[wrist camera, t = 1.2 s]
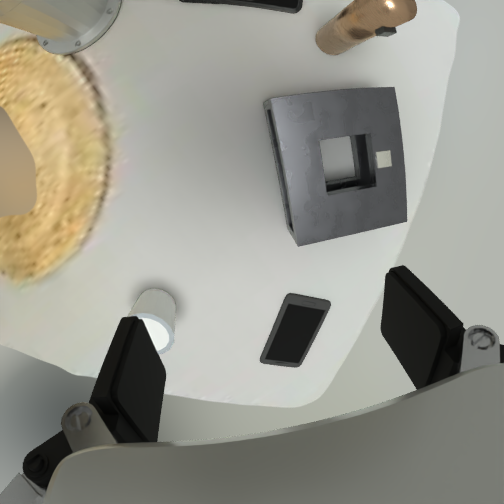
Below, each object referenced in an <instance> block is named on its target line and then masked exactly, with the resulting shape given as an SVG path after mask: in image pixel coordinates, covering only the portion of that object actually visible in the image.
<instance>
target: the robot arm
mask: <svg viewBox="0 0 504 504" xmlns="http://www.w3.org/2000/svg"><path fill="white" fill-rule="evenodd" d="M120 4H121V0H0V23H2V24H6V25H9V26H12V27H15V28H18V29H21V30H24V31H27V32H30V33H33V34H36V36H37V40H38V42H39V44H40V45H41V47H42V48H43V49H44V50H46V51H48V52H50V53H53V54H58V55H68V54H72V53H76V52H78V51H80V50H83V49H85V48H86V47H88V46H90V45H91V44H93V43H94V42H95V41H96V40H98V39H99V38H100V37H101V36H102V35H103V34H104V33H105V32H106V31H107V30H108V28H109V27H110V26H111V24H112V23H113V21H114V19H115V18H116V16H117V14H118V11H119V9H120ZM111 12H112V13H111ZM381 333H382V335H383V337H384V338H385V340H386V341H387V343H388V344H389V346H390V347H391V349H392V351H393V352H394V354H395V355H396V357H397V358H398V360H399V361H400V363H401V365H402V366H403V368H404V369H405V371H406V373H407V374H408V376H409V377H410V379H411V381H412V382H413V384H414V386H415V387H416V389H417V390H416V391H413V392H410V393H408V394H405V395H402V396H399V397H397V398H394V399H391V400H388V401H386V402H382V403H380V404H377V405H373V406H370V407H367V408H364V409H360V410H357V411H353V412H350V413H346V414H343V415H339V416H335V417H332V418H328V419H324V420H320V421H316V422H311V423H307V424H302V425H298V426H293V427H288V428H283V429H277V430H272V431H267V432H260V433H254V434H247V435H240V436H232V437H223V438H214V439H203V440H189V441H175V442H174V441H173V442H157V438H158V431H159V423H160V415H161V408H162V401H163V394H164V387H165V381H166V370H165V368H164V365H163V363H162V361H161V359H160V357H159V355H158V353H157V350H156V348H155V346H154V344H153V342H152V339H151V337H150V335H149V333H148V330H147V328H146V326H145V323H144V321H143V320H142V319H139V318H138V317H137V316H130V317H123V318H122V319H121V320H120V323H119V325H118V328H117V330H116V332H115V335H114V337H113V340H112V342H111V345H110V347H109V350H108V352H107V355H106V357H105V359H104V362H103V365H102V367H101V370H100V373H99V375H98V378H97V381H96V384H95V386H94V389H93V392H92V395H91V398H90V401H89V403H84V402H82V403H77V404H75V405H72V406H71V407H70V408H68V409H67V410H66V412H65V413H64V415H63V417H62V421H61V425H62V429H63V430H62V431H61V432H59V433H58V434H56V435H55V436H53V437H52V438H50V439H49V440H47V441H46V442H44V443H43V444H41V445H40V446H38V447H36V448H35V449H33V450H32V451H31V452H29V453H28V454H27V456H26V457H25V459H24V462H23V472H24V473H23V474H22V475H21V474H20V473H18V474H17V475H16V477H15V478H14V479H13V480H12V481H11V482H10V483H9V485H8V486H7V487H6V488H5V489H4V490H3V491H2V493H1V494H0V504H504V345H501V344H500V343H499V337H498V335H497V334H496V333H495V332H494V331H493V330H492V329H490V328H489V327H486V326H483V325H475V326H471V327H469V328H468V329H467V330H465V328H464V327H463V323H462V322H461V321H460V320H459V319H458V318H457V317H456V316H455V314H454V313H453V312H452V311H451V310H450V309H448V307H447V306H446V305H445V304H444V303H443V302H442V301H441V300H440V299H439V298H438V297H437V296H436V295H435V294H434V293H433V292H432V291H431V290H430V289H429V288H428V287H427V286H426V285H425V284H424V283H422V282H421V281H420V280H419V279H418V278H417V277H416V276H415V275H414V274H413V273H412V272H411V271H410V270H409V269H408V268H407V267H405V266H403V265H402V266H398V267H394V268H391V269H390V270H389V273H386V276H385V289H384V301H383V311H382V320H381Z"/></svg>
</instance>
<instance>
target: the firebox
mask: <svg viewBox="0 0 504 504" xmlns="http://www.w3.org/2000/svg"><path fill="white" fill-rule="evenodd" d="M263 105H264V109H265V114H266V119H267V123H268V128H269V133H270V138H271V143H272V148H273V153H274V158H275V163H276V168H277V173H278V179H279V184H280V189H281V195H282V200H283V206H284V211H285V217H286V222H287V228H288V230H289V232H290V234H291V235H292V237H293V239H294V240H295V242H296V244H297V246H298V247H299V246H303V245H308V244H312V243H316V242H321V241H325V240H330V239H334V238H338V237H343V236H347V235H351V234H356V233H360V232H364V231H369V230H373V229H377V228H382V227H386V226H390V225H395V224H399V223H403V222H407V198H406V178H405V164H404V153H403V143H402V134H401V126H400V118H399V111H398V105H397V99H396V93H395V87H379V88H358V89H344V90H332V91H322V92H313V93H305V94H297V95H290V96H283V97H277V98H271V99H269V100H267V101H265V102H264V103H263ZM345 136H350V137H351V144H352V151H353V159H354V167H355V175H356V177H351V178H345V179H340V180H334V181H329V182H325V177H324V170H323V163H322V157H321V151H320V145H319V140H323V139H330V138H337V137H345Z"/></svg>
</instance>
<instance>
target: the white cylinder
mask: <svg viewBox="0 0 504 504" xmlns="http://www.w3.org/2000/svg"><path fill="white" fill-rule="evenodd" d="M175 313H176V304H175V301H174V299H173V297H172V296H171V295H170V294H169V293H167V292H165V291H163V290H161V289H154V288H153V289H149V290H146V291H144V292H143V293H142V294H141V295H140V297H139V298H138V300H137V302H136V303H135V305H134V306H133V308H132V310H131V311H130V313H129V315H128V316H127V317H130V316H137V317H138V318H139V319H142V320H143V321H144V323H145V326H146V328H147V330H148V333H149V335H150V337H151V339H152V342H153V344H154V346H155V348H156V350H157V353H158V354H163V353H165V352H166V351H168V350H169V349H170V348H171V347H172V345H173V343H174V331H175Z"/></svg>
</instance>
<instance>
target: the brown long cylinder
mask: <svg viewBox="0 0 504 504" xmlns="http://www.w3.org/2000/svg"><path fill="white" fill-rule="evenodd" d="M416 13H417V6H416V2H415V0H354V1H353V2H352V3H350V4H349V5H348V6H347V7H345V8H344V9H343V10H342V11H341V12H340V13H338V14H337V15H336V16H335V17H334V18H332V19H331V20H330V21H329V22H328V23H327V24H326V25H324V26H323V27H322V28H321V29H320V30H319V31H318V32H317V34H316V43H317V45H318V47H319V48H320V49H321V50H322V51H323V52H325V53H326V54H329V55H338V54H341V53H343V52H344V51H346V50H348V49H350V48H352V47H354V46H356V45H358V44H360V43H362V42H364V41H366V40H368V39H370V38H372V37H374V36H386V37H388V36H390V35H393V34H395V33H397V32H396V28H395V27H396V26H398V25H401V24H403V23H405V22H408V21H410V20H412V19H413V18H414V17H415V16H416Z"/></svg>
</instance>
